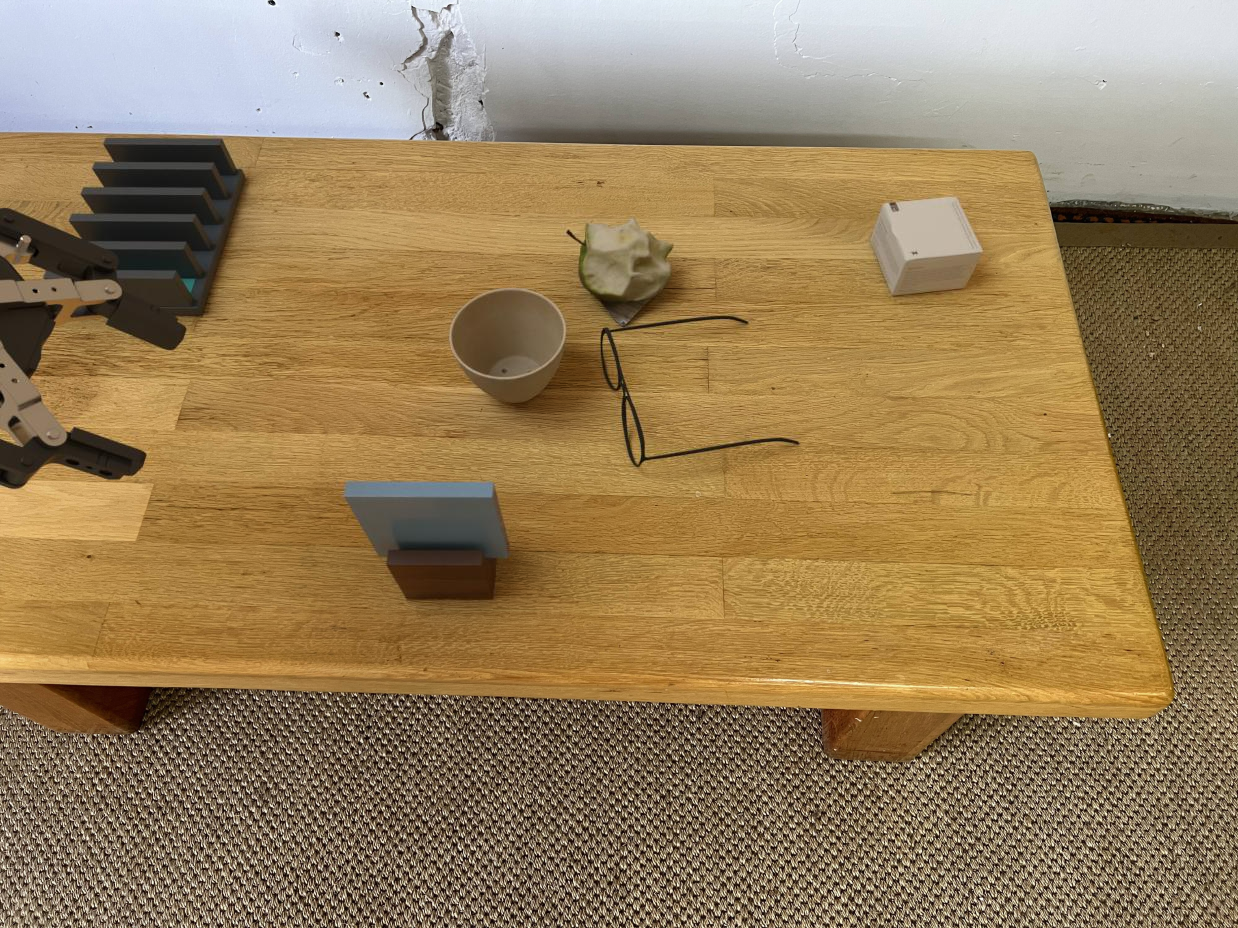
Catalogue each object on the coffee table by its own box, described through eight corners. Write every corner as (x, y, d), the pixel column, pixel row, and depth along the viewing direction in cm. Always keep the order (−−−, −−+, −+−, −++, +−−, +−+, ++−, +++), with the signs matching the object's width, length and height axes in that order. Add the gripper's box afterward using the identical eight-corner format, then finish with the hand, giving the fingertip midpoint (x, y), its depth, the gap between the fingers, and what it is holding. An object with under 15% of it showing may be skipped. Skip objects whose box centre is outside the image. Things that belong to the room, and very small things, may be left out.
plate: (508, 558, 67) (492, 497, 58) (378, 557, 67) (343, 496, 58) (509, 543, 67) (493, 481, 59) (380, 543, 67) (346, 480, 59)
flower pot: (591, 392, 79) (588, 343, 73) (496, 444, 76) (486, 398, 70) (534, 321, 83) (527, 270, 77) (442, 368, 81) (427, 319, 74)
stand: (493, 600, 69) (481, 565, 63) (405, 599, 69) (385, 564, 63) (498, 543, 72) (487, 504, 66) (413, 542, 72) (395, 503, 66)
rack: (202, 316, 84) (178, 279, 79) (67, 315, 84) (36, 278, 79) (246, 177, 93) (227, 137, 89) (125, 176, 93) (100, 136, 89)
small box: (966, 289, 86) (985, 252, 81) (890, 297, 85) (905, 261, 81) (941, 232, 89) (958, 194, 85) (867, 240, 89) (880, 201, 84)
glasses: (596, 352, 82) (601, 317, 77) (743, 333, 85) (755, 298, 81) (635, 481, 75) (643, 450, 70) (793, 454, 78) (810, 423, 74)
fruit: (560, 304, 86) (548, 235, 80) (621, 257, 90) (614, 188, 84) (631, 339, 82) (624, 269, 76) (691, 288, 86) (689, 218, 80)
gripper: (-151, 190, 45) (169, 330, 55) (-297, 421, 38) (100, 534, 48) (-126, 103, 40) (219, 273, 50) (-287, 348, 33) (151, 489, 43)
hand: (161, 400), depth 49 cm, fingers open, 8 cm apart
